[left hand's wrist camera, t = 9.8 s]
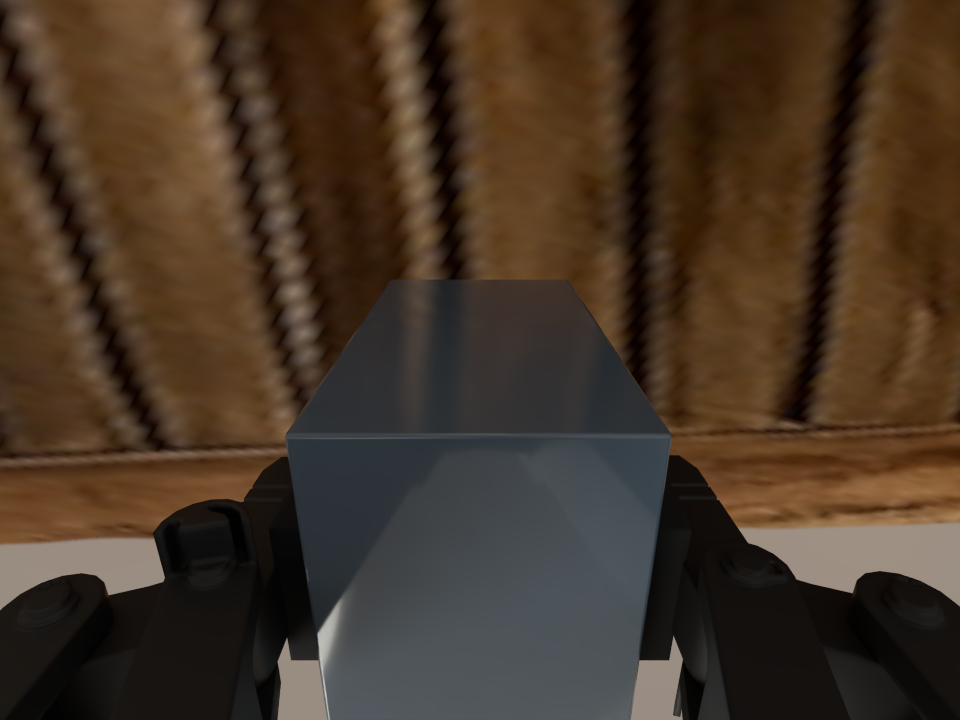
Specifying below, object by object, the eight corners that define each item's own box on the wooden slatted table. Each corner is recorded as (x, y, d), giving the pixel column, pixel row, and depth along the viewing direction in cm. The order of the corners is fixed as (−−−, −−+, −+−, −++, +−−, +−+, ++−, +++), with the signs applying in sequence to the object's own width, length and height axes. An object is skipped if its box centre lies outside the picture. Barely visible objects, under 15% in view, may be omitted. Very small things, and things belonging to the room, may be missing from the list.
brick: (402, 488, 17) (335, 785, 9) (390, 279, 15) (282, 434, 7) (556, 488, 17) (622, 785, 9) (568, 279, 15) (674, 434, 7)
